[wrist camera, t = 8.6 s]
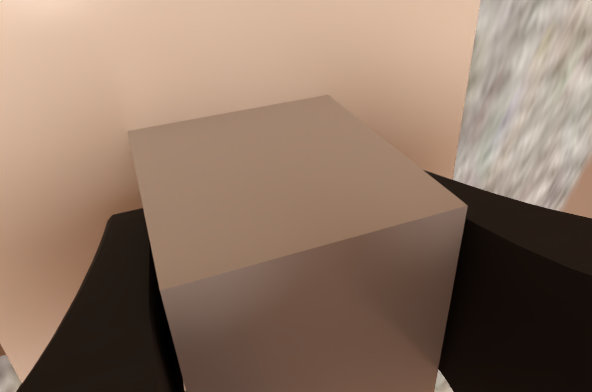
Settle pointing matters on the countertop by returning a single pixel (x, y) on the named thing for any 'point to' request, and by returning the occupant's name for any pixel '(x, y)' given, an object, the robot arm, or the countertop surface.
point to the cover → (242, 179)
